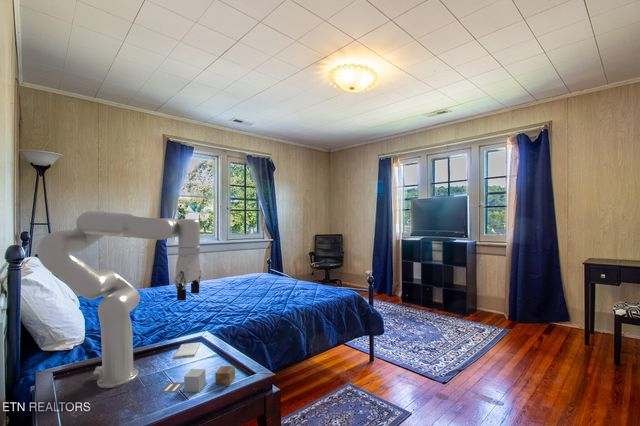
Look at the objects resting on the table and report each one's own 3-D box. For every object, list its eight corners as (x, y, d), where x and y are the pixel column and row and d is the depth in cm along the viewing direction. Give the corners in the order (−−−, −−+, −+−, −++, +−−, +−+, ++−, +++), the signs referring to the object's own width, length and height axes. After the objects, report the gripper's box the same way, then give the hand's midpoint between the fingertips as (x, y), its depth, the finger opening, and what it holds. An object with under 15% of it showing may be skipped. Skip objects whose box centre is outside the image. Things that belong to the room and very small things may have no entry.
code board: (152, 397, 102) (152, 395, 102) (169, 381, 112) (169, 379, 112) (200, 398, 101) (200, 396, 101) (213, 381, 111) (213, 379, 111)
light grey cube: (184, 391, 104) (184, 376, 104) (191, 383, 109) (191, 369, 109) (199, 391, 103) (198, 376, 103) (205, 383, 108) (205, 369, 108)
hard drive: (181, 344, 142) (173, 356, 130) (200, 342, 144) (194, 353, 132) (181, 347, 142) (173, 360, 130) (200, 345, 144) (194, 357, 132)
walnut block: (215, 387, 107) (215, 373, 107) (221, 380, 112) (221, 366, 112) (229, 388, 107) (229, 373, 107) (235, 380, 112) (234, 366, 112)
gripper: (191, 248, 128) (190, 290, 128) (166, 254, 111) (165, 302, 111) (208, 249, 128) (208, 291, 127) (186, 254, 110) (185, 303, 110)
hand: (188, 296), depth 119 cm, fingers open, 9 cm apart
